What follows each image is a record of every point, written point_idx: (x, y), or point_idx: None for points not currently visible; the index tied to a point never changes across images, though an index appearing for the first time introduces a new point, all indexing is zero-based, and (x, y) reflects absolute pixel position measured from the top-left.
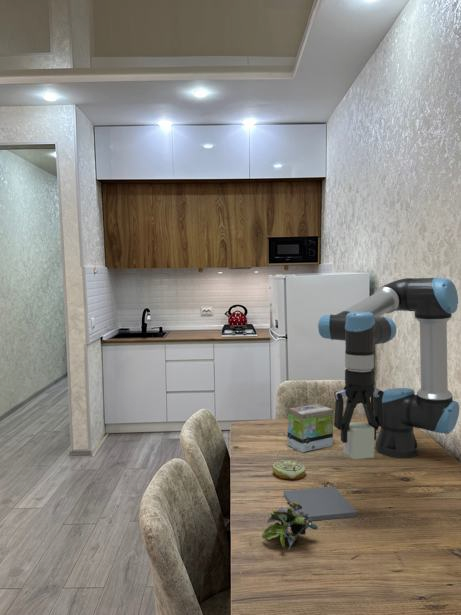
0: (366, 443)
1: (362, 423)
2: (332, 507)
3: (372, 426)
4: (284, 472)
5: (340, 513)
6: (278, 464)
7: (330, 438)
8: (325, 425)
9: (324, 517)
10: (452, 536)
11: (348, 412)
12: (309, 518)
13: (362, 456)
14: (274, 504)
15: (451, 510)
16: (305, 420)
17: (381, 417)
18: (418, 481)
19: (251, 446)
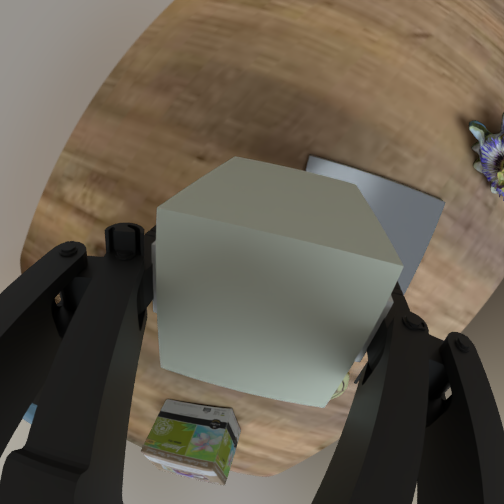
0: (270, 184)
1: (191, 350)
2: None
3: (141, 269)
4: None
5: (355, 169)
6: (336, 391)
7: (166, 410)
8: (168, 434)
9: (394, 181)
10: (165, 14)
11: (412, 472)
12: (494, 136)
13: (303, 172)
14: (432, 285)
15: (94, 105)
16: (211, 458)
17: (25, 283)
18: (84, 232)
19: (298, 444)
